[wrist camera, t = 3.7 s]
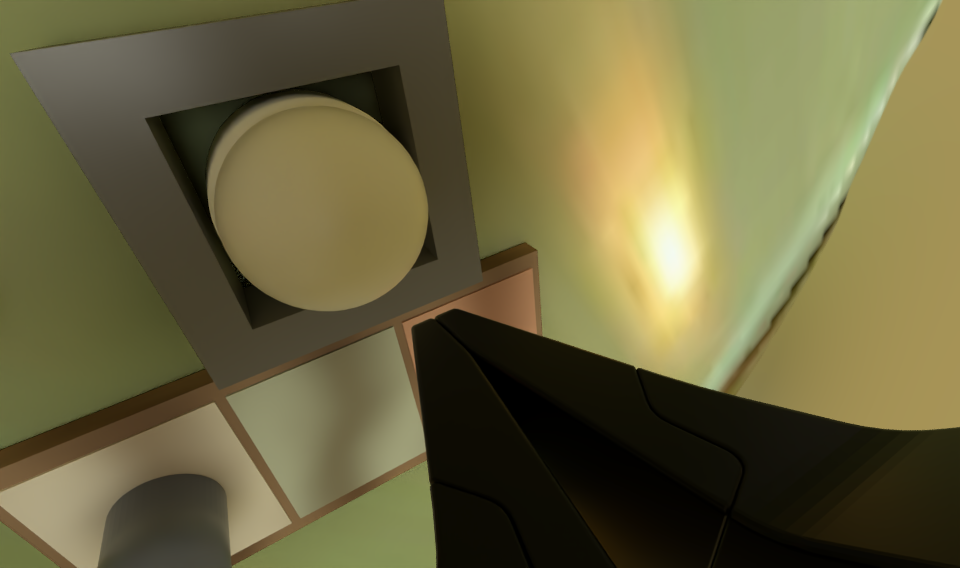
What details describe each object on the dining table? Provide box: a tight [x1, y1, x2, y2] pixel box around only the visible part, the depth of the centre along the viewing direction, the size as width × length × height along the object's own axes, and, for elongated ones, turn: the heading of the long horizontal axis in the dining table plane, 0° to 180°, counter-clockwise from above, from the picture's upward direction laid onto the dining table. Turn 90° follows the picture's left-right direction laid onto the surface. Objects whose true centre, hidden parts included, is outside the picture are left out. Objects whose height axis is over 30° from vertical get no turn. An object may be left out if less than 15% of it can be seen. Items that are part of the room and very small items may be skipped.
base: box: [10, 0, 483, 390], centre depth 15 cm, size 10×10×3 cm
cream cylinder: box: [205, 90, 428, 311], centre depth 13 cm, size 6×6×6 cm
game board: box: [0, 243, 542, 568], centre depth 21 cm, size 22×10×1 cm, turn 98°
